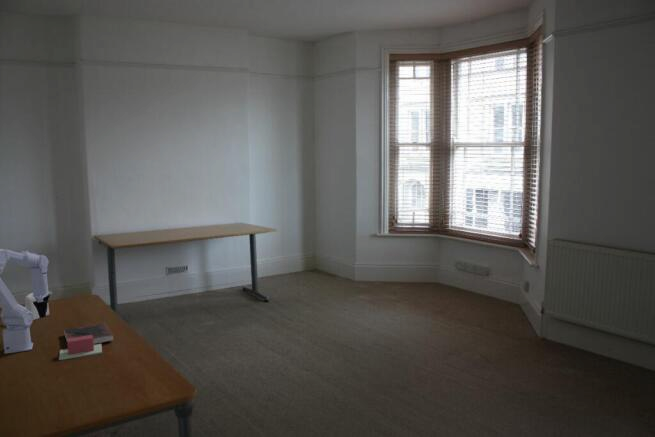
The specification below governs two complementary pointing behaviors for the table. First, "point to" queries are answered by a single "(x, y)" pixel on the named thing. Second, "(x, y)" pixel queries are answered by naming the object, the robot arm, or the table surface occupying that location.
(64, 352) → the sage mat
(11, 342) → the robot arm
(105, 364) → the table surface
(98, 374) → the table surface
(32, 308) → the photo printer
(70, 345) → the card box
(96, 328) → the picture frame
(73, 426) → the table surface
